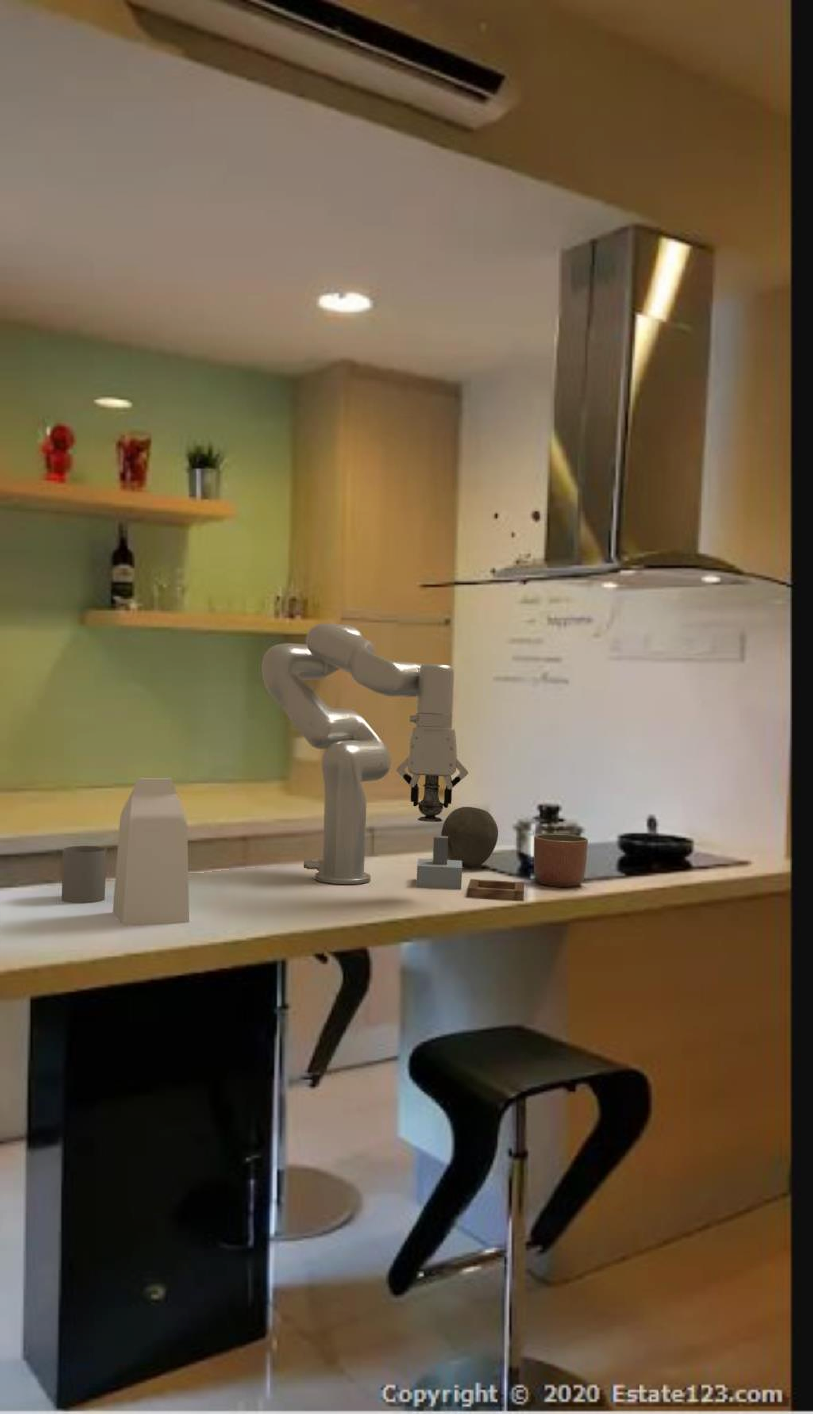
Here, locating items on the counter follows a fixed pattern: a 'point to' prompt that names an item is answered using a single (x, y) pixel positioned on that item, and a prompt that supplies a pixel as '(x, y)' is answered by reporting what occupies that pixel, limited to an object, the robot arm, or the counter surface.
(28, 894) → the counter surface
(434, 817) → the salt shaker
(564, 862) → the planter
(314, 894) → the counter surface
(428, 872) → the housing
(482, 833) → the dark brown ball
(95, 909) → the counter surface
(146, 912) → the milk
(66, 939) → the counter surface
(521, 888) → the socket board
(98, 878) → the cup
